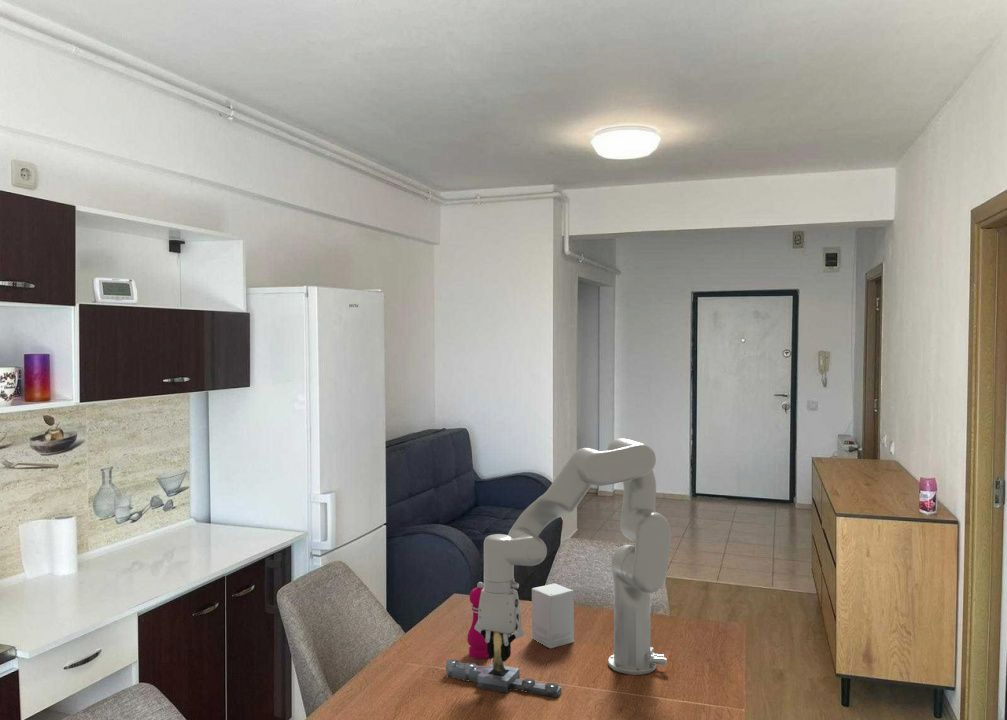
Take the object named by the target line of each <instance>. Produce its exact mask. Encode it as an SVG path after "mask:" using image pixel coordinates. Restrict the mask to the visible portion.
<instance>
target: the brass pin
mask: <svg viewBox="0 0 1007 720" xmlns="http://www.w3.org/2000/svg"><path fill="white" fill-rule="evenodd" d="M502 645H504V639H503V633H500V632H493V658H492V664H493V669H494V670H496V671H502V670H504V669H505V666H506V661H505V662H504V661H502Z"/></svg>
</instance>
